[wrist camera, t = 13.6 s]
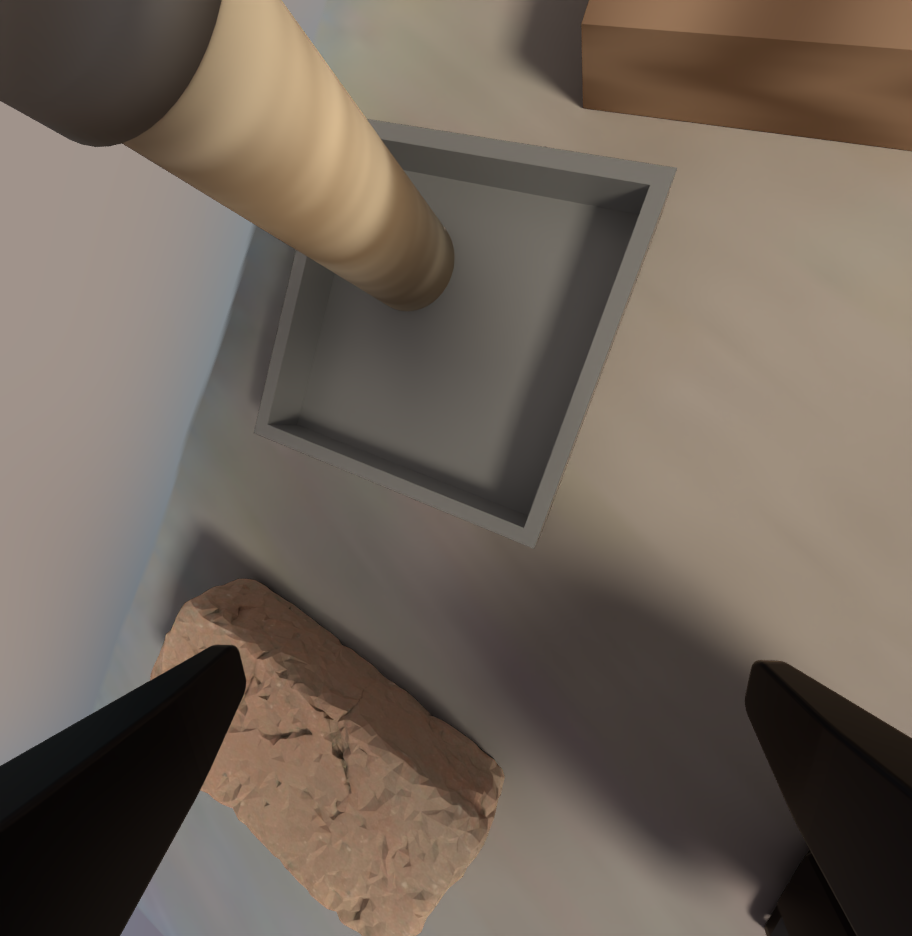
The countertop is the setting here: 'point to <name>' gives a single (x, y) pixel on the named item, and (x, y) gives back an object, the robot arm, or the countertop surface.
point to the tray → (471, 330)
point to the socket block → (756, 65)
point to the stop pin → (232, 125)
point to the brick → (338, 764)
